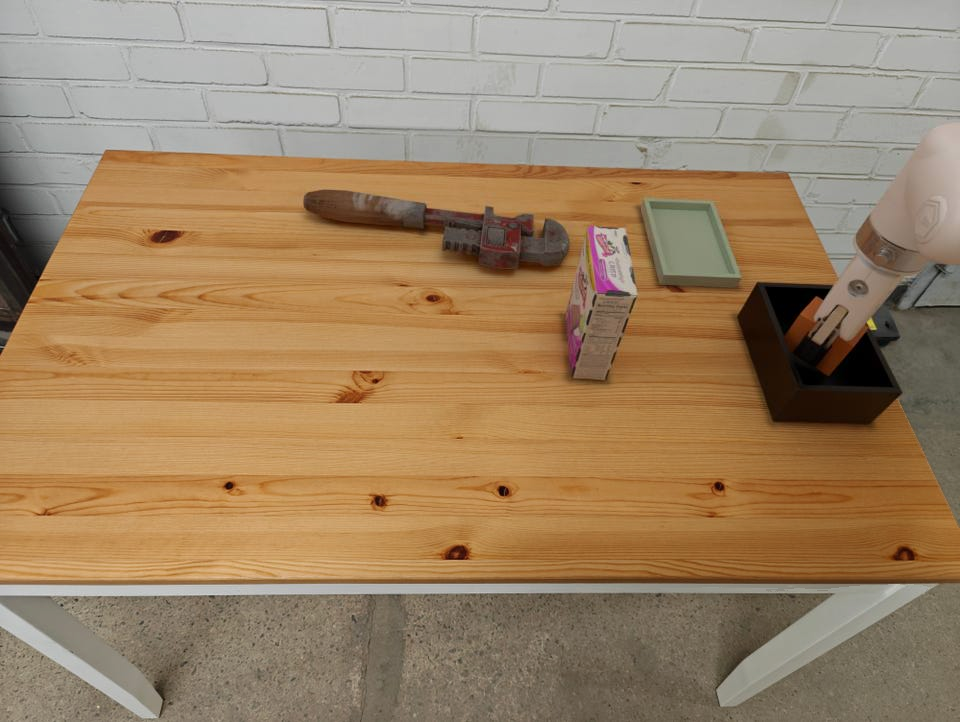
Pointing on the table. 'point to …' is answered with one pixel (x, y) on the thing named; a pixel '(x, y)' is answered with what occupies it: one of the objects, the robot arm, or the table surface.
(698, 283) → the shallow green tray
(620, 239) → the candy bar box
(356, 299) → the table surface
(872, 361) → the dark open storage bin
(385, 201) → the pipe wrench
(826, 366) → the orange brown rectangular block
